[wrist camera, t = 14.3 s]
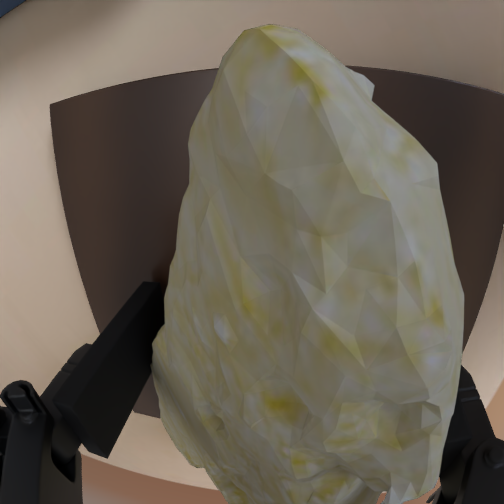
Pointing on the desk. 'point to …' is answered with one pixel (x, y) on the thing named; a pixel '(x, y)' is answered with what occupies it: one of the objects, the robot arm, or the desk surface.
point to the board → (178, 165)
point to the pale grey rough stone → (308, 289)
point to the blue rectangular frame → (8, 5)
